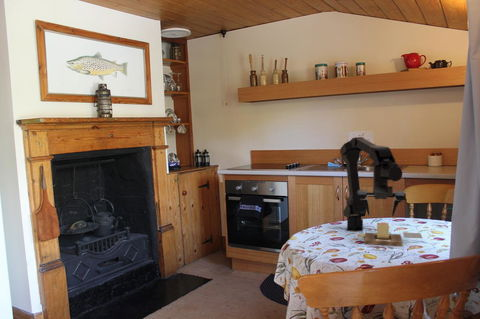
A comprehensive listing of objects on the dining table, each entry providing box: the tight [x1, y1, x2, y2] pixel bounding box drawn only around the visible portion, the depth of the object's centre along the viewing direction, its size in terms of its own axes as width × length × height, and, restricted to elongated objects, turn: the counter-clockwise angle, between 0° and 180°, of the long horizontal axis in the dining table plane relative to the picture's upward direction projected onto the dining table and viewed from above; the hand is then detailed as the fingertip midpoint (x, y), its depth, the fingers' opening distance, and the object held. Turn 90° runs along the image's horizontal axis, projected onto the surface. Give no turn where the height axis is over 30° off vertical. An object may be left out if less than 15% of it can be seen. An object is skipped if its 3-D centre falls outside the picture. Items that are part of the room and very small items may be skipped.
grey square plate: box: [402, 232, 423, 239], centre depth 172 cm, size 7×8×1 cm
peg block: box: [376, 222, 390, 240], centre depth 165 cm, size 4×4×8 cm
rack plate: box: [364, 232, 403, 250], centre depth 165 cm, size 14×12×3 cm
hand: (380, 215), depth 167 cm, fingers open, 9 cm apart
